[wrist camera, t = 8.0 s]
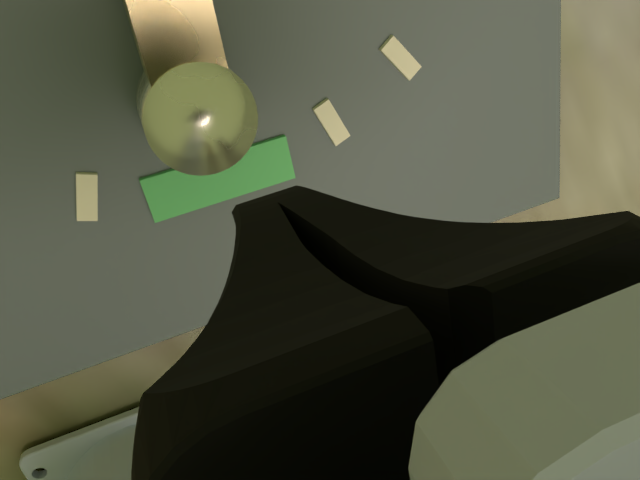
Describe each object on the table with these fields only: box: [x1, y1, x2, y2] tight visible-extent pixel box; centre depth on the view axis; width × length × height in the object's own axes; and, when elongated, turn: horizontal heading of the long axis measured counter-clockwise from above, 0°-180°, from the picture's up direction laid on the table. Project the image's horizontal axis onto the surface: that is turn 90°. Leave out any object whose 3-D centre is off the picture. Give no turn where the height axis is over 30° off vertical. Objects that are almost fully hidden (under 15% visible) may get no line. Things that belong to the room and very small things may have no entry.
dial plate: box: [0, 0, 561, 399], centre depth 18 cm, size 20×26×1 cm
